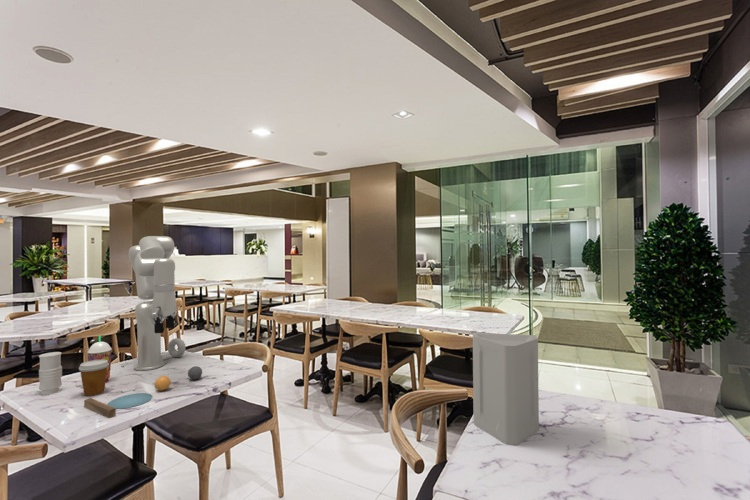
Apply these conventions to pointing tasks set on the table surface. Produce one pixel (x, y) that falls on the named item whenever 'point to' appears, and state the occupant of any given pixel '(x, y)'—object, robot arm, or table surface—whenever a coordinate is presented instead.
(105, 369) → the disposable coffee cup
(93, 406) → the wall
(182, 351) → the donut
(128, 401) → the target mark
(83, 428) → the table surface
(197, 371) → the grey ball
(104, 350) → the smoothie
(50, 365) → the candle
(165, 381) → the object ball
